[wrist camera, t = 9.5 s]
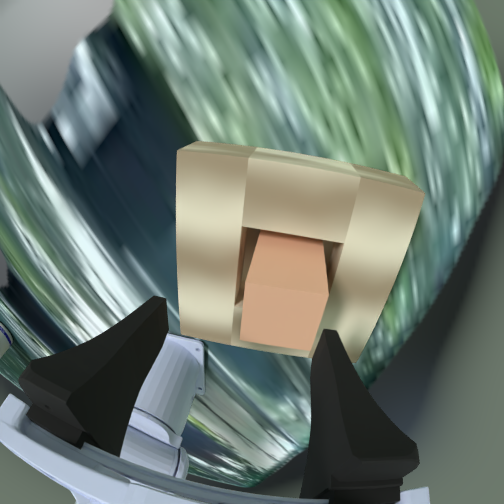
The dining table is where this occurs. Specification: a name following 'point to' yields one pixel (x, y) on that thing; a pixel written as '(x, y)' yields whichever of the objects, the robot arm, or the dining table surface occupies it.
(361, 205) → the socket block
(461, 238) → the dining table surface
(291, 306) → the peg
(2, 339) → the beverage can
